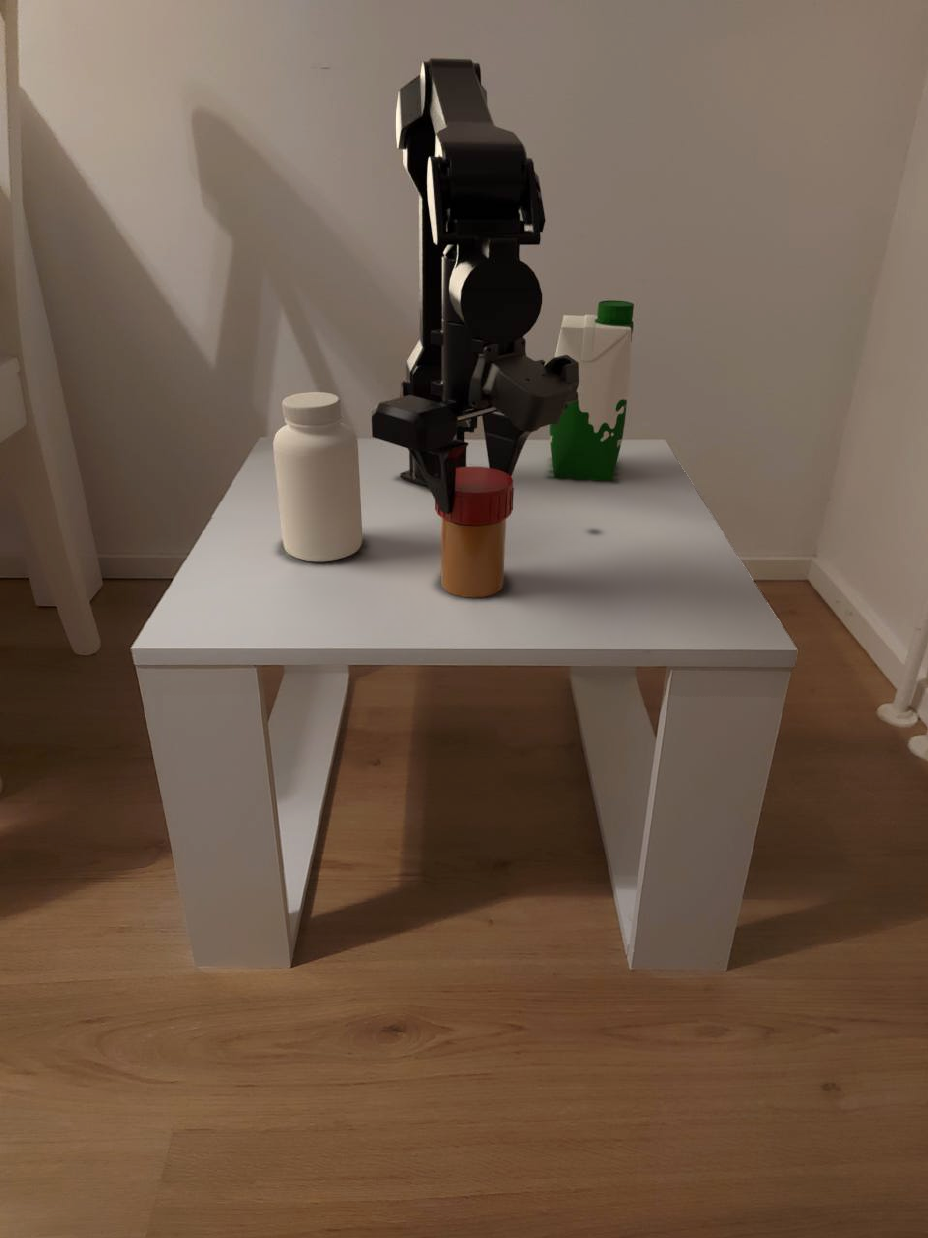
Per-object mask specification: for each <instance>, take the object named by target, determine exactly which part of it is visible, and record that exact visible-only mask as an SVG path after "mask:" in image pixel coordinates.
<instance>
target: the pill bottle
mask: <svg viewBox="0 0 928 1238" xmlns="http://www.w3.org/2000/svg"><path fill="white" fill-rule="evenodd" d="M281 405H282V414H283V417H284V422H285V423H286V425H285V424H284V426H282V427H281V428H280V429H279V430H278V431H277V432H276V433H275V435H274V438H273V441H272V442H273V443H272V447H273V449H272V450H273V458H274V467H275V478H276V489H277V498H278V508H279V517H280V528H281V538H282V543H283V548H284V549H285V551H286V553H287V554H288V555H289V556H291V557H294V558H295V559H297V560H302V561H307V562H331V561H337V560H340V559H341V560H342V559H345V558H347V557H349V556H352V555H353V554H355V553H356V552H357V551H359V549H360V548H361V546H362V543H363V519H362V500H361V497H362V496H361V479H360V461H359V458H360V457H359V443H358V438H357V435H356V432H355V431H354V430H353V429H352V428H351V427H350V426H348V425H347V424H345V423H344V422H342V421H343V415H342V406H341V405H342V403H341V399H340V397H339V396H338V395H336V394H333V393H329V392H323V391H309V392H300V393H295V394H291V395H288V396H287V397H285V398H284V399H283V400H282V403H281Z"/></svg>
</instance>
